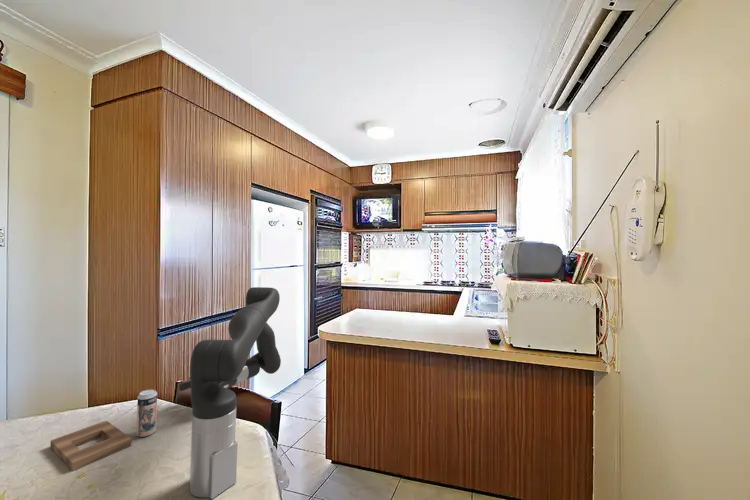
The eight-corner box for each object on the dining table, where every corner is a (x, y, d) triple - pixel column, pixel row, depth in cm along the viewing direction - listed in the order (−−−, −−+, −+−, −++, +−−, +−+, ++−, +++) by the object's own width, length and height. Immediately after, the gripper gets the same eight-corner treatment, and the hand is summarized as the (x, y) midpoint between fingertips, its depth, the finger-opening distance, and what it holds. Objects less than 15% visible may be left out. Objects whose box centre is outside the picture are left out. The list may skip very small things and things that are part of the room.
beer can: (139, 440, 89) (140, 397, 89) (133, 433, 92) (134, 392, 92) (158, 432, 93) (160, 391, 93) (152, 426, 96) (154, 387, 96)
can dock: (130, 445, 87) (131, 438, 87) (72, 471, 76) (72, 462, 76) (106, 427, 95) (106, 420, 95) (50, 447, 85) (50, 440, 85)
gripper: (220, 360, 120) (175, 374, 106) (244, 369, 113) (199, 385, 99) (219, 380, 120) (174, 396, 106) (244, 390, 113) (198, 409, 99)
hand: (186, 391), depth 102 cm, fingers open, 8 cm apart
